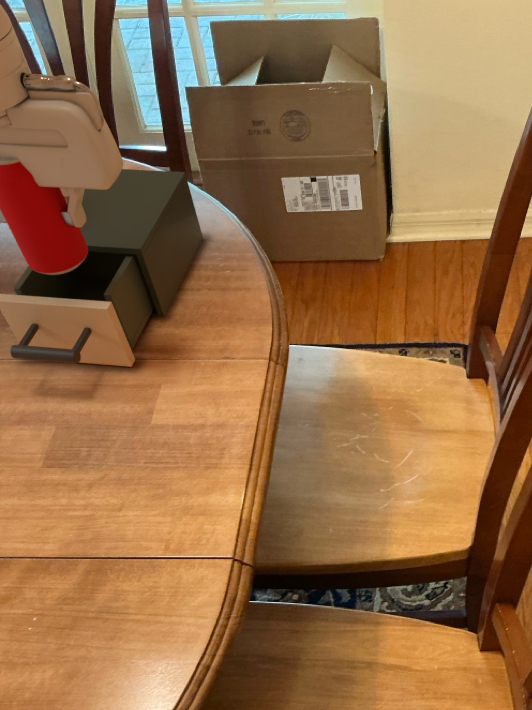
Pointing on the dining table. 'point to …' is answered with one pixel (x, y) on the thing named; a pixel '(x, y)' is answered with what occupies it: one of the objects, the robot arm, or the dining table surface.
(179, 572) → the dining table surface
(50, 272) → the beverage can
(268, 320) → the dining table surface
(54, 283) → the drawer
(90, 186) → the robot arm
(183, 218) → the cabinet
